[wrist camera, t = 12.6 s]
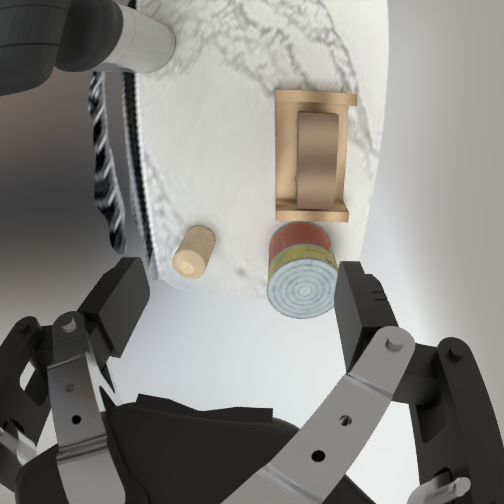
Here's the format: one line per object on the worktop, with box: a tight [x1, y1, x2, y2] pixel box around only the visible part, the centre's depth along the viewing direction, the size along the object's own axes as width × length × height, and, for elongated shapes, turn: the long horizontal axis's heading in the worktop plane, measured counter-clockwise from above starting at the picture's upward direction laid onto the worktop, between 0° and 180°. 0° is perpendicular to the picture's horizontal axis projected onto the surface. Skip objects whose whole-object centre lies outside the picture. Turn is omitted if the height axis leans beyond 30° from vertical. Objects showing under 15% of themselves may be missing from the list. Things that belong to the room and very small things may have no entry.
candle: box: [172, 226, 215, 279], centre depth 48 cm, size 6×6×10 cm
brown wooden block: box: [296, 111, 339, 209], centre depth 37 cm, size 13×5×4 cm, turn 2°
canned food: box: [267, 221, 338, 319], centre depth 47 cm, size 11×11×12 cm
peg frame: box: [275, 90, 357, 222], centre depth 40 cm, size 11×19×6 cm, turn 2°
